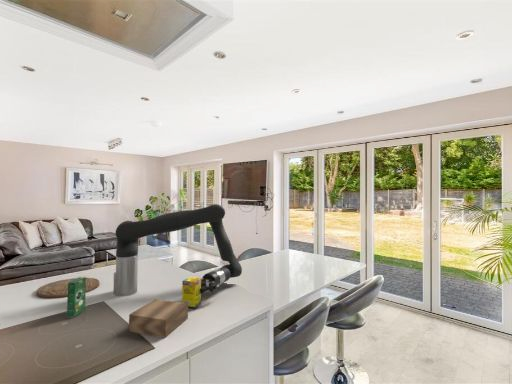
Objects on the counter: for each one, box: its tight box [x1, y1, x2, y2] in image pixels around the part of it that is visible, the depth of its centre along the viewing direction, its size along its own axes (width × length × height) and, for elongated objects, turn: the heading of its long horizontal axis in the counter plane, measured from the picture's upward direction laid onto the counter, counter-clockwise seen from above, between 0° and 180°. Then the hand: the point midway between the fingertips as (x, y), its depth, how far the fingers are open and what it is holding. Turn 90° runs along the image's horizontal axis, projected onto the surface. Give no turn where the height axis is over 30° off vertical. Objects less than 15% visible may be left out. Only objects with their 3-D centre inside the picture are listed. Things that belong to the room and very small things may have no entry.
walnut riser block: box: [128, 298, 189, 339], centre depth 96 cm, size 14×14×6 cm
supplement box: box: [181, 276, 202, 310], centre depth 113 cm, size 6×6×11 cm
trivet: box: [36, 277, 100, 299], centre depth 131 cm, size 25×25×2 cm
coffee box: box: [66, 276, 87, 319], centre depth 104 cm, size 8×3×13 cm, turn 6°
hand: (191, 289), depth 113 cm, fingers open, 8 cm apart
